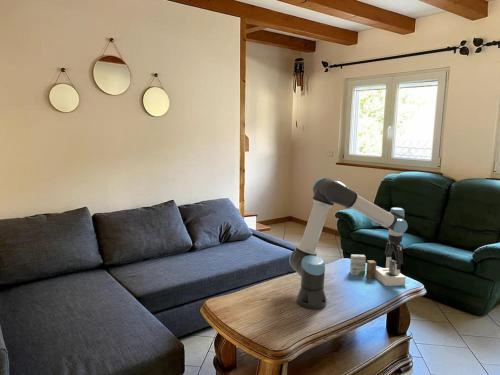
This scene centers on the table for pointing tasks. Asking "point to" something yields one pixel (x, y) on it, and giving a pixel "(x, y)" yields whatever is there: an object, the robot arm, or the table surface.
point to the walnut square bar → (371, 269)
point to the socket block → (389, 277)
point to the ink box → (357, 264)
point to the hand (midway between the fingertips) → (392, 270)
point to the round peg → (392, 268)
